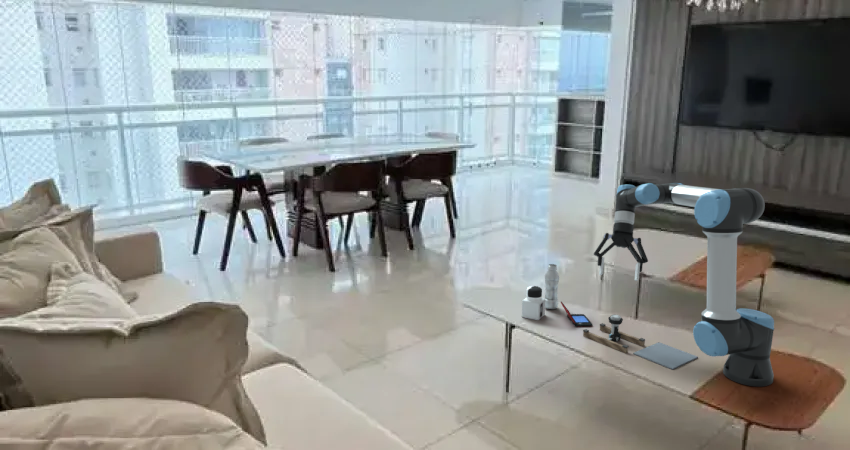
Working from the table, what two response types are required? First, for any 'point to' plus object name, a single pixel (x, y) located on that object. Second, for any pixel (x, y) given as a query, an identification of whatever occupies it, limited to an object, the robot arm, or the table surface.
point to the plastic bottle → (551, 287)
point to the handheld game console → (578, 319)
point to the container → (533, 303)
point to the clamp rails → (610, 343)
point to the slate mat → (665, 355)
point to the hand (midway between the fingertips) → (618, 277)
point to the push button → (615, 327)
